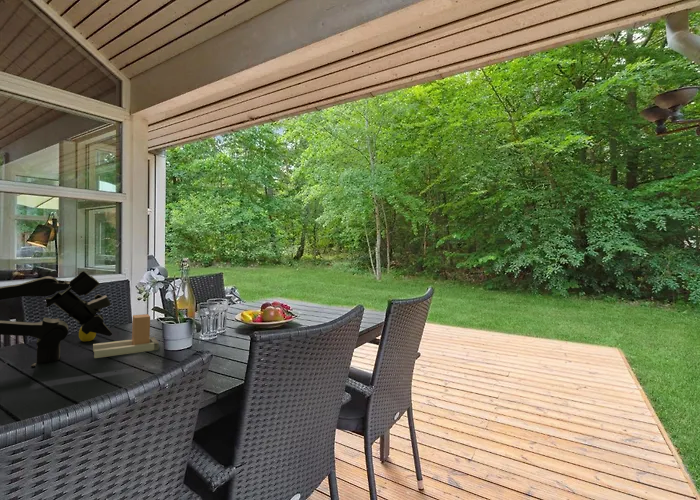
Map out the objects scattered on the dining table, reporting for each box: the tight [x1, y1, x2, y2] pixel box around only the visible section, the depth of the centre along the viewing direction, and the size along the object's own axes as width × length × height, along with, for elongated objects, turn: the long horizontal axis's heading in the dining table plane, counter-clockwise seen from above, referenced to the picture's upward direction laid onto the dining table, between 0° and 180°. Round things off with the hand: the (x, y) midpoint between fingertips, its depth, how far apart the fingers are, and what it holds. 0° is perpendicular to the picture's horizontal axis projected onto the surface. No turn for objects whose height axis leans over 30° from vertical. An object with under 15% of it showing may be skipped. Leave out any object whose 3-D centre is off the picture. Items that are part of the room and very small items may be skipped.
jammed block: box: [131, 313, 151, 345], centre depth 133 cm, size 5×5×12 cm
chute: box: [92, 336, 160, 359], centre depth 130 cm, size 19×10×4 cm, turn 128°
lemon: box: [78, 326, 97, 343], centre depth 139 cm, size 6×6×8 cm
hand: (111, 334), depth 127 cm, fingers closed
